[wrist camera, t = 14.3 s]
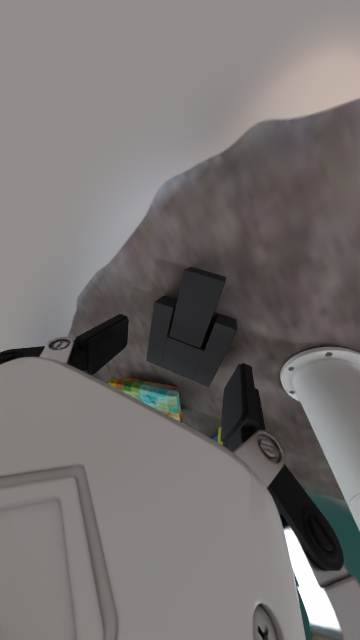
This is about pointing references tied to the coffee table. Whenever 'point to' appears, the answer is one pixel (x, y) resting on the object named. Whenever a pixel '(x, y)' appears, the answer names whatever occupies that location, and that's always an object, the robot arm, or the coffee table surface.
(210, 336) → the notch pad
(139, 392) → the puzzle game
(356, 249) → the coffee table surface
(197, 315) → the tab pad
